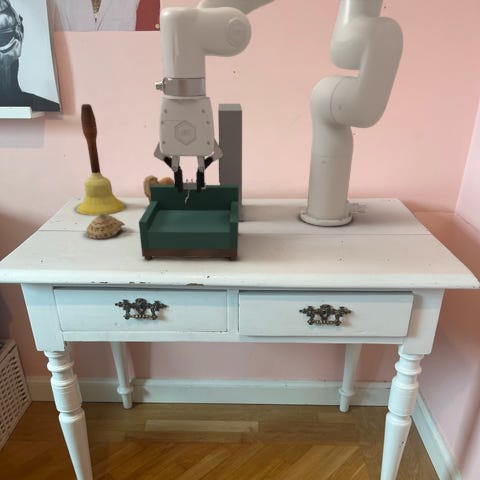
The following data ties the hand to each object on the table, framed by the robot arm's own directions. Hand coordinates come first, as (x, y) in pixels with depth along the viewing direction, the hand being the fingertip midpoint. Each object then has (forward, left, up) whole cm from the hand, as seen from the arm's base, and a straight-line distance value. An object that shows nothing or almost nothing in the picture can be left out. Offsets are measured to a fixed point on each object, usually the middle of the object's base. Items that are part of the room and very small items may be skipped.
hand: (190, 190), depth 95 cm
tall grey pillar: (-7, -25, -13) cm, 28 cm away
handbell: (+27, -29, -13) cm, 41 cm away
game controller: (0, 0, -1) cm, 1 cm away
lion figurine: (+11, -31, -13) cm, 35 cm away
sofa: (0, -2, -12) cm, 13 cm away
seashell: (+21, -10, -13) cm, 26 cm away
